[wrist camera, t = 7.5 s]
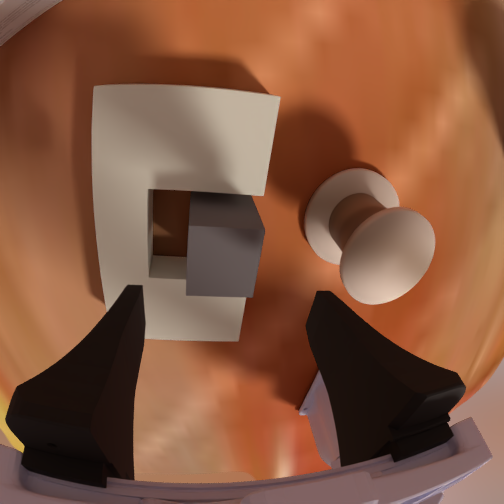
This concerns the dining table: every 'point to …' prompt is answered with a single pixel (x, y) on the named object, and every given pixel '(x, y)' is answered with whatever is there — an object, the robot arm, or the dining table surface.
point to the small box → (20, 15)
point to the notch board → (172, 178)
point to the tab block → (223, 245)
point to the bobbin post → (368, 235)
